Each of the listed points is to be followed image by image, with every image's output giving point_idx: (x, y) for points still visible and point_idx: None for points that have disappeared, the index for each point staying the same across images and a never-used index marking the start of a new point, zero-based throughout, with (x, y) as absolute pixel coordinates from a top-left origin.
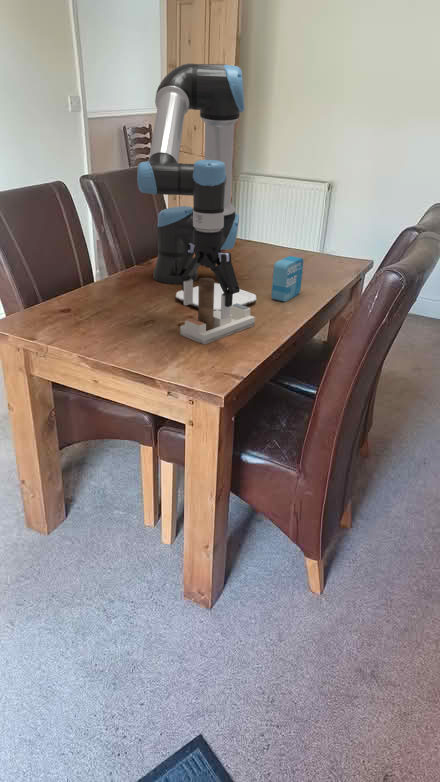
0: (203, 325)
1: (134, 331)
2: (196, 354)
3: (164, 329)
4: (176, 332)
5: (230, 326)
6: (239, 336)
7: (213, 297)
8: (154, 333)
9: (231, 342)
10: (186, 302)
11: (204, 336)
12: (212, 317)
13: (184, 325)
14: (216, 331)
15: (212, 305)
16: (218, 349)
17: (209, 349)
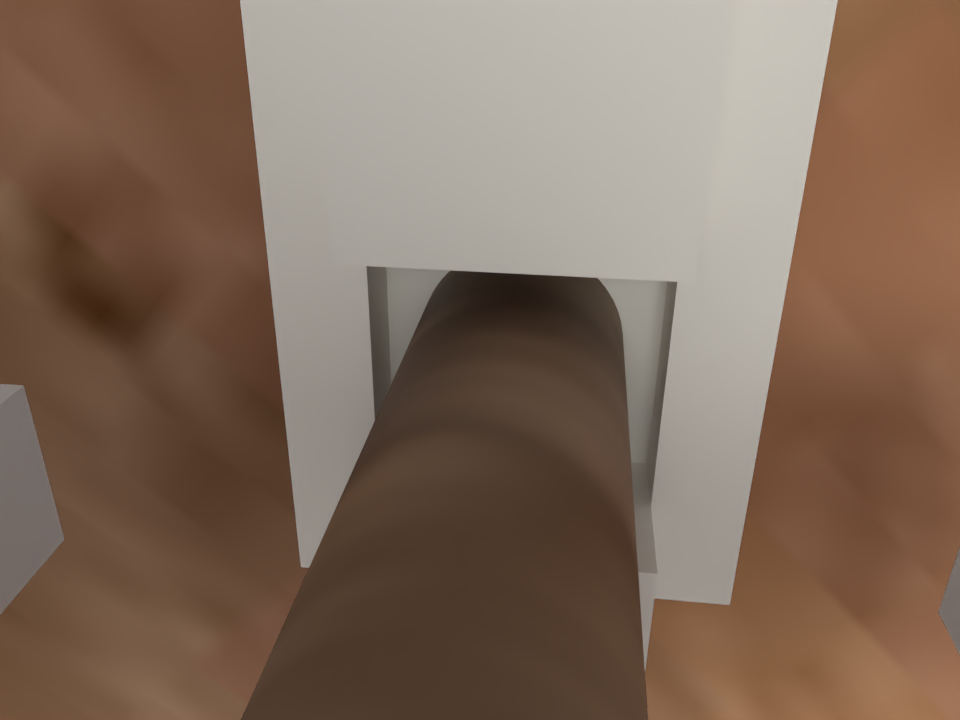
0: (650, 609)
1: (17, 682)
2: (799, 717)
3: (114, 499)
4: (254, 478)
5: (816, 109)
6: (940, 20)
7: (638, 716)
8: (152, 618)
9: (951, 278)
10: (28, 549)
11: (727, 598)
12: (628, 438)
13: (319, 530)
14: (762, 417)
15: (639, 601)
16: (922, 524)
17: (836, 577)
